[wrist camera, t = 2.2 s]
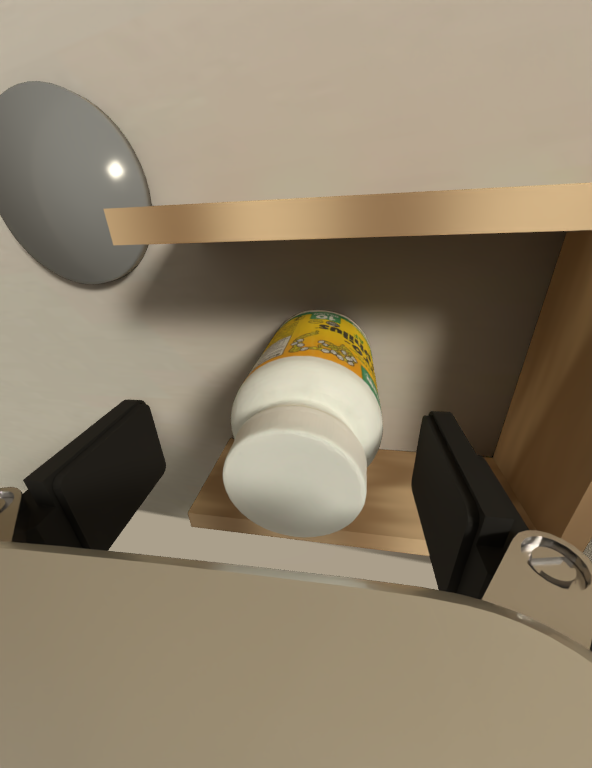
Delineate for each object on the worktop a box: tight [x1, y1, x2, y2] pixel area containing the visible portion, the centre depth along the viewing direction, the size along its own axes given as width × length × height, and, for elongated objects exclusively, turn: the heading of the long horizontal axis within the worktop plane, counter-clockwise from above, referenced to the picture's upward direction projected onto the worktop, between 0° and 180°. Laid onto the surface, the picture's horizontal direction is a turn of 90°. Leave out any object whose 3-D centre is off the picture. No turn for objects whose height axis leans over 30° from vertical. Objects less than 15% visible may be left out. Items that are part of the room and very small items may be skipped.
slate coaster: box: [0, 81, 152, 284], centre depth 15 cm, size 8×8×1 cm
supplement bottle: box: [223, 310, 383, 538], centre depth 13 cm, size 5×5×10 cm
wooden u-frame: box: [104, 183, 592, 556], centre depth 14 cm, size 17×14×6 cm
